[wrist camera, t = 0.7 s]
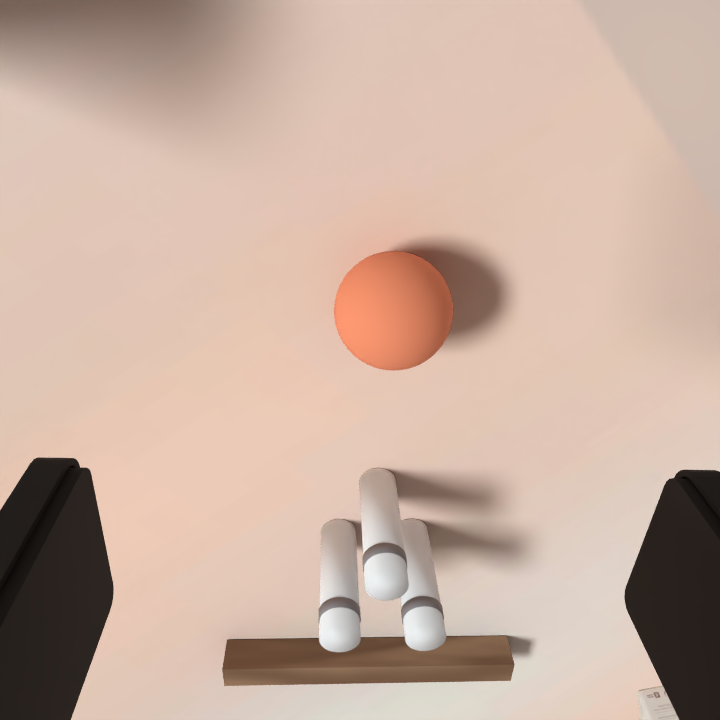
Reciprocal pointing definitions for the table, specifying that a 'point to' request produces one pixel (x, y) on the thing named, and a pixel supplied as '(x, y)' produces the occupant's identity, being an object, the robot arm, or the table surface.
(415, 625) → the pin
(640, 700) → the supplement box
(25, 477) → the robot arm
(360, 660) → the back wall
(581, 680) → the table surface
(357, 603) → the pin
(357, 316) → the ball
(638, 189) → the table surface
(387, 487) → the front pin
